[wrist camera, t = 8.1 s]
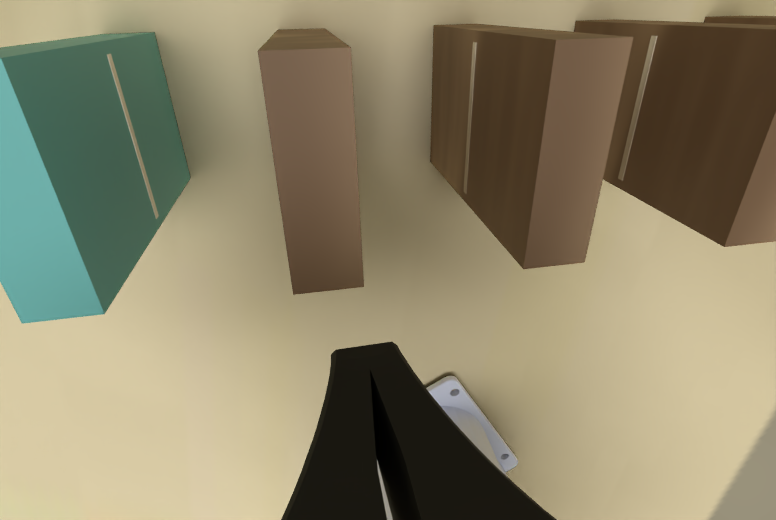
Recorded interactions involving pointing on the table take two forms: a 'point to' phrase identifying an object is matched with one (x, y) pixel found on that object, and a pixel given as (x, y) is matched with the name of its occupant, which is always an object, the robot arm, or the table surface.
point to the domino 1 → (82, 169)
